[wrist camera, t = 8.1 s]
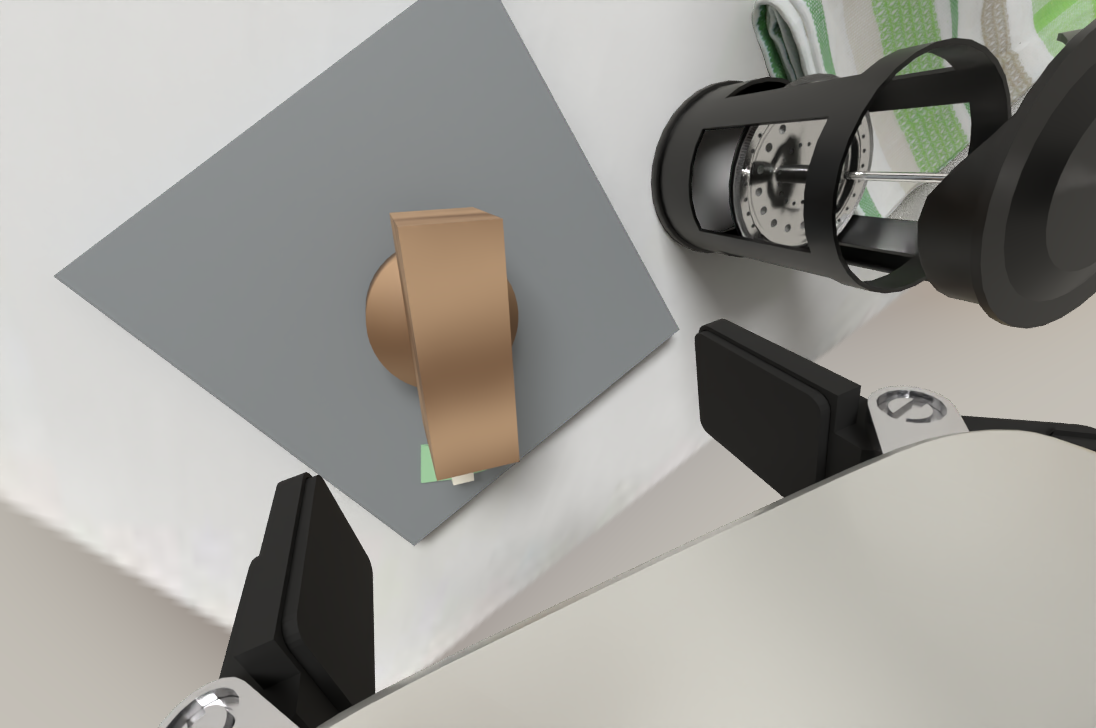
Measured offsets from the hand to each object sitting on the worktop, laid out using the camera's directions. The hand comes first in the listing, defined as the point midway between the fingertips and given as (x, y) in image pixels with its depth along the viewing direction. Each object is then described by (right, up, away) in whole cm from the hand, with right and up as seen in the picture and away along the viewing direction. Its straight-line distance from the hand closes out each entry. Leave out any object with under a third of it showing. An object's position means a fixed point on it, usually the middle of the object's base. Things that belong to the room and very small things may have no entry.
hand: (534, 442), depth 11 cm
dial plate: (-6, +5, +14) cm, 16 cm away
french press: (+11, +13, +18) cm, 24 cm away
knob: (-5, +2, +14) cm, 15 cm away
